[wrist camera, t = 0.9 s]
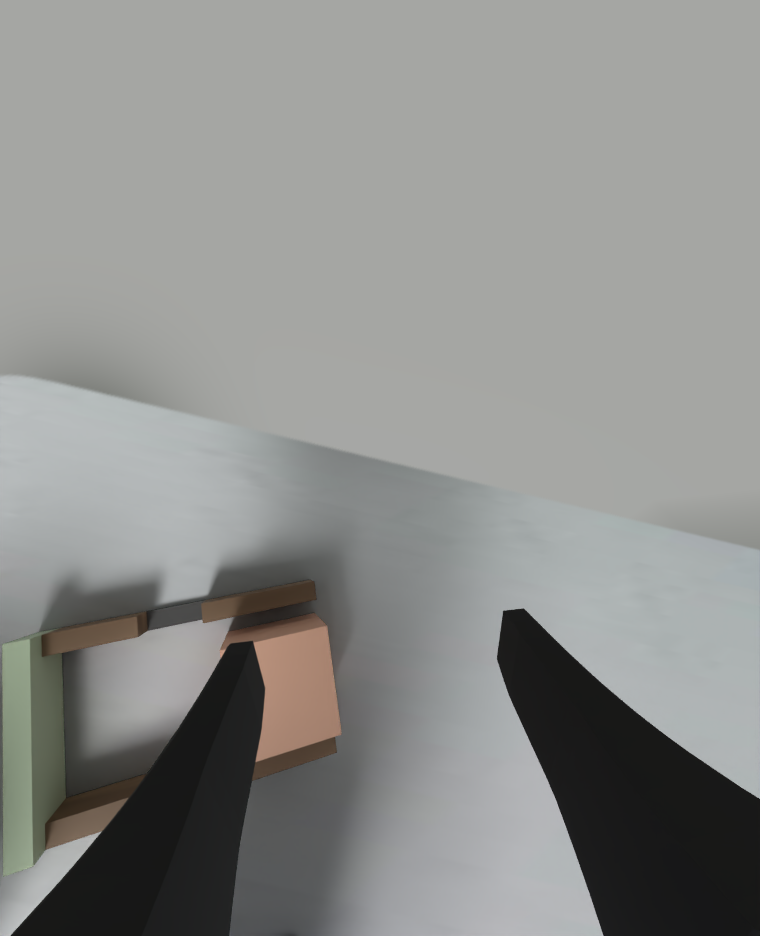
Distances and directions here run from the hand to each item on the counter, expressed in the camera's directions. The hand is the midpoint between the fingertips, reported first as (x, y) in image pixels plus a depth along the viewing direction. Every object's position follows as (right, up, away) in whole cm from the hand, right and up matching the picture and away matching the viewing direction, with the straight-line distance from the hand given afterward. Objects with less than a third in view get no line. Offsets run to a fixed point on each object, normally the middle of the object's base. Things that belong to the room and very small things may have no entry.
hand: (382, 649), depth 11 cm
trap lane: (-10, -7, +10) cm, 16 cm away
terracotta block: (-6, -6, +12) cm, 15 cm away
